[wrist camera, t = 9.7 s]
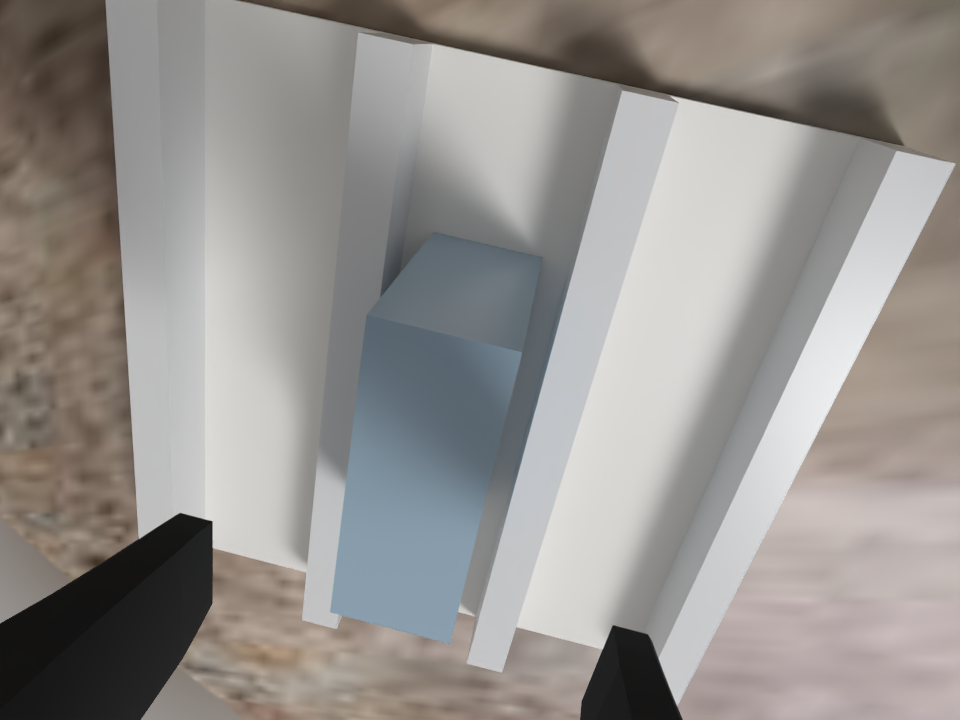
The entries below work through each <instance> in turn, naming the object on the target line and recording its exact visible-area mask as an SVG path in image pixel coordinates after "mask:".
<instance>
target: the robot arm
mask: <svg viewBox="0 0 960 720" xmlns="http://www.w3.org/2000/svg"><path fill="white" fill-rule="evenodd" d="M212 576H213V521H210V520H206V519H202V518H198V517H194V516H190V515H187V514H183V513H179V514H177V515H175V516H174V517H172V518H171V519H169V520H167V521H166V522H164V523H163V524H161V525H160V526H158V527H156V528H155V529H153V530H152V531H150V532H149V533H147V534H146V535H144V536H143V537H141V538H140V539H138V540H137V541H135V542H134V543H132V544H130V545H129V546H127V547H126V548H124V549H123V550H121V551H120V552H118V553H117V554H115V555H113V556H112V557H110V558H109V559H107V560H106V561H104V562H103V563H101V564H99V565H98V566H96V567H95V568H93V569H91V570H90V571H88V572H86V573H85V574H83V575H82V576H80V577H78V578H77V579H75V580H74V581H72V582H70V583H69V584H67V585H66V586H64V587H62V588H61V589H59V590H57V591H56V592H54V593H53V594H51V595H49V596H47V597H46V598H44V599H42V600H41V601H39V602H37V603H35V604H34V605H32V606H30V607H28V608H27V609H25V610H23V611H21V612H20V613H18V614H16V615H14V616H12V617H11V618H9V619H7V620H5V621H4V622H2V623H1V624H0V720H141V718H142V717H143V715H144V714H145V712H146V711H147V710H148V708H149V707H150V705H151V704H152V703H153V701H154V700H155V698H156V697H157V695H158V694H159V692H160V691H161V689H162V688H163V686H164V685H165V684H166V682H167V681H168V679H169V678H170V676H171V675H172V673H173V672H174V670H175V669H176V668H177V666H178V665H179V663H180V662H181V660H182V659H183V657H184V655H185V653H186V652H187V650H188V648H189V646H190V644H191V643H192V641H193V639H194V637H195V635H196V634H197V632H198V630H199V628H200V626H201V624H202V622H203V620H204V618H205V616H206V614H207V613H208V611H209V609H210V607H211V605H212ZM580 720H683V719H682V717H681V715H680V712H679V710H678V707H677V705H676V702H675V700H674V697H673V695H672V692H671V690H670V687H669V685H668V682H667V680H666V677H665V675H664V672H663V669H662V667H661V664H660V661H659V659H658V656H657V653H656V650H655V648H654V645H653V642H652V640H651V638H650V637H649V635H648V634H645V633H642V632H638V631H634V630H630V629H626V628H622V627H618V626H615V625H613V626H612V628H611V631H610V633H609V635H608V638H607V640H606V643H605V645H604V648H603V650H602V653H601V655H600V658H599V660H598V663H597V665H596V668H595V670H594V672H593V675H592V677H591V680H590V682H589V685H588V687H587V690H586V692H585V695H584V697H583V700H582V705H581V717H580Z"/></svg>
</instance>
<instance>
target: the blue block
mask: <svg viewBox="0 0 960 720" xmlns="http://www.w3.org/2000/svg"><path fill="white" fill-rule="evenodd" d="M542 258H543V257H539V256H535V255H531V254H526V253H522V252H518V251H514V250H509V249H505V248H501V247H496V246H492V245H488V244H484V243H479V242H475V241H471V240H466V239H462V238H458V237H454V236H449V235H445V234H441V233H436V232H433V233H432V234H431V236H430V237H429V238H428V239H427V241H426V242H425V243H424V244H423V246H422V247H421V248H420V249H419V250H418V252H417V253H416V254H415V255H414V257H413V258H412V259H411V260H410V262H409V263H408V264H407V265H406V267H405V268H404V269H403V270H402V272H401V273H400V274H399V275H398V276H397V278H396V279H395V280H394V281H393V283H392V284H391V285H390V286H389V288H388V289H387V290H386V291H385V293H384V294H383V295H382V296H381V298H380V299H379V300H378V301H377V303H376V304H375V305H374V306H373V307H372V309H371V310H370V311H369V312H368V314H367V315H366V323H365V331H364V339H363V347H362V355H361V363H360V372H359V380H358V388H357V396H356V404H355V413H354V421H353V429H352V437H351V445H350V453H349V462H348V470H347V478H346V486H345V494H344V502H343V511H342V519H341V527H340V535H339V543H338V551H337V560H336V568H335V576H334V584H333V592H332V600H331V609H330V612H331V613H334V614H338V615H342V616H346V617H350V618H353V619H357V620H361V621H365V622H369V623H372V624H376V625H380V626H384V627H388V628H392V629H395V630H399V631H403V632H407V633H411V634H414V635H418V636H422V637H426V638H430V639H433V640H437V641H441V642H445V643H449V644H450V641H451V637H452V633H453V629H454V625H455V621H456V617H457V613H458V609H459V605H460V601H461V597H462V593H463V589H464V585H465V581H466V577H467V573H468V569H469V565H470V561H471V557H472V553H473V549H474V545H475V541H476V537H477V533H478V529H479V525H480V521H481V517H482V513H483V509H484V505H485V501H486V497H487V493H488V489H489V485H490V481H491V477H492V472H493V468H494V464H495V460H496V456H497V452H498V448H499V444H500V440H501V436H502V432H503V428H504V424H505V420H506V416H507V412H508V408H509V404H510V400H511V396H512V392H513V388H514V384H515V380H516V376H517V372H518V368H519V364H520V360H521V356H522V352H523V347H524V342H525V338H526V333H527V328H528V324H529V319H530V314H531V309H532V305H533V300H534V295H535V291H536V286H537V281H538V276H539V272H540V267H541V262H542Z"/></svg>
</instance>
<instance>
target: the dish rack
mask: <svg viewBox="0 0 960 720" xmlns="http://www.w3.org/2000/svg"><path fill="white" fill-rule="evenodd" d="M105 1H106V17H107V33H108V49H109V65H110V81H111V97H112V114H113V130H114V146H115V162H116V178H117V194H118V210H119V226H120V242H121V258H122V275H123V291H124V307H125V323H126V339H127V355H128V371H129V387H130V403H131V419H132V436H133V452H134V468H135V484H136V500H137V516H138V532H139V539H140V538H141V537H143V536H144V535H146V534H147V533H149V532H150V531H152V530H153V529H155V528H156V527H158V526H160V525H161V524H163V523H164V522H166V521H167V520H169V519H171V518H172V517H174V516H175V515H177V514H179V513H183V514H187V515H190V516H194V517H198V518H202V519H206V520H210V521H213V548H215V549H218V550H222V551H226V552H230V553H234V554H238V555H242V556H245V557H249V558H253V559H257V560H261V561H265V562H268V563H272V564H276V565H280V566H284V567H288V568H292V569H295V570H299V571H303V572H307V574H306V584H305V595H304V605H303V616H302V620H304V621H308V622H312V623H315V624H319V625H323V626H327V627H331V628H334V629H337V627H338V624H339V622H340V620H341V617H342V615H338V614H334V613H331V612H330V609H331V600H332V592H333V584H334V576H335V568H336V560H337V551H338V543H339V535H340V527H341V519H342V511H343V502H344V494H345V486H346V478H347V470H348V462H349V453H350V445H351V437H352V429H353V421H354V413H355V404H356V396H357V388H358V380H359V372H360V363H361V355H362V347H363V339H364V331H365V323H366V315H367V314H368V312H369V311H370V310H371V309H372V307H373V306H374V305H375V304H376V303H377V301H378V300H379V299H380V298H381V296H382V295H383V294H384V293H385V291H386V290H387V289H388V288H389V286H390V285H391V284H392V283H393V281H394V280H395V279H396V278H397V276H398V275H399V274H400V273H401V272H402V270H403V269H404V268H405V267H406V265H407V264H408V263H409V262H410V260H411V259H412V258H413V257H414V255H415V254H416V253H417V252H418V250H419V249H420V248H421V247H422V246H423V244H424V243H425V242H426V241H427V239H428V238H429V237H430V236H431V234H432V233H433V232H436V233H441V234H445V235H449V236H454V237H458V238H462V239H466V240H471V241H475V242H479V243H484V244H488V245H492V246H496V247H501V248H505V249H509V250H514V251H518V252H522V253H526V254H531V255H535V256H539V257H543V258H542V262H541V267H540V272H539V276H538V281H537V286H536V291H535V295H534V300H533V305H532V309H531V314H530V319H529V324H528V328H527V333H526V338H525V342H524V347H523V352H522V356H521V360H520V364H519V368H518V372H517V376H516V380H515V384H514V388H513V392H512V396H511V400H510V404H509V408H508V412H507V416H506V420H505V424H504V428H503V432H502V436H501V440H500V444H499V448H498V452H497V456H496V460H495V464H494V468H493V472H492V477H491V481H490V485H489V489H488V493H487V497H486V501H485V505H484V509H483V513H482V517H481V521H480V525H479V529H478V533H477V537H476V541H475V545H474V549H473V553H472V557H471V561H470V565H469V569H468V573H467V577H466V581H465V585H464V589H463V593H462V597H461V601H460V605H459V609H458V612H461V613H464V614H468V615H472V616H476V619H475V624H474V629H473V634H472V639H471V644H470V649H469V654H468V659H467V664H471V665H475V666H478V667H482V668H486V669H490V670H494V671H497V672H501V673H502V671H503V668H504V664H505V661H506V658H507V655H508V651H509V648H510V645H511V642H512V639H513V635H514V632H515V629H516V627H518V628H522V629H526V630H530V631H534V632H537V633H541V634H545V635H549V636H553V637H557V638H560V639H564V640H568V641H572V642H576V643H580V644H584V645H587V646H591V647H595V648H599V649H603V648H604V645H605V643H606V640H607V638H608V635H609V633H610V631H611V628H612V626H613V625H615V626H618V627H622V628H626V629H630V630H634V631H638V632H642V633H645V634H648V635H649V637H650V638H651V640H652V642H653V645H654V648H655V650H656V653H657V656H658V659H659V661H660V664H661V667H662V669H663V672H664V675H665V677H666V680H667V682H668V685H669V687H670V690H671V692H672V695H673V697H674V700H675V702H676V705H677V706H678V704H679V702H680V700H681V698H682V696H683V694H684V692H685V690H686V688H687V686H688V684H689V682H690V680H691V678H692V676H693V674H694V672H695V671H696V669H697V667H698V665H699V663H700V661H701V659H702V657H703V655H704V653H705V651H706V649H707V647H708V645H709V643H710V641H711V639H712V637H713V635H714V634H715V632H716V630H717V628H718V626H719V624H720V622H721V620H722V618H723V616H724V614H725V612H726V610H727V608H728V606H729V604H730V602H731V600H732V598H733V597H734V595H735V593H736V591H737V589H738V587H739V585H740V583H741V581H742V579H743V577H744V575H745V573H746V571H747V569H748V567H749V565H750V563H751V561H752V560H753V558H754V556H755V554H756V552H757V550H758V548H759V546H760V544H761V542H762V540H763V538H764V536H765V534H766V532H767V530H768V528H769V526H770V525H771V523H772V521H773V519H774V517H775V515H776V513H777V511H778V509H779V507H780V505H781V503H782V501H783V499H784V497H785V495H786V493H787V491H788V489H789V488H790V486H791V484H792V482H793V480H794V478H795V476H796V474H797V472H798V470H799V468H800V466H801V464H802V462H803V460H804V458H805V456H806V454H807V452H808V451H809V449H810V447H811V445H812V443H813V441H814V439H815V437H816V435H817V433H818V431H819V429H820V427H821V425H822V423H823V421H824V419H825V417H826V416H827V414H828V412H829V410H830V408H831V406H832V404H833V402H834V400H835V398H836V396H837V394H838V392H839V390H840V388H841V386H842V384H843V382H844V380H845V379H846V377H847V375H848V373H849V371H850V369H851V367H852V365H853V363H854V361H855V359H856V357H857V355H858V353H859V351H860V349H861V347H862V345H863V343H864V342H865V340H866V338H867V336H868V334H869V332H870V330H871V328H872V326H873V324H874V322H875V320H876V318H877V316H878V314H879V312H880V310H881V308H882V306H883V305H884V303H885V301H886V299H887V297H888V295H889V293H890V291H891V289H892V287H893V285H894V283H895V281H896V279H897V277H898V275H899V273H900V271H901V270H902V268H903V266H904V264H905V262H906V260H907V258H908V256H909V254H910V252H911V250H912V248H913V246H914V244H915V242H916V240H917V238H918V236H919V234H920V233H921V231H922V229H923V227H924V225H925V223H926V221H927V219H928V217H929V215H930V213H931V211H932V209H933V207H934V205H935V203H936V201H937V199H938V197H939V196H940V194H941V192H942V190H943V188H944V186H945V184H946V182H947V180H948V178H949V176H950V174H951V172H952V170H953V168H954V166H955V163H952V162H949V161H946V160H943V159H940V158H937V157H934V156H931V155H928V154H925V153H923V152H920V151H917V150H914V149H912V148H909V147H906V146H901V145H896V144H892V143H887V142H883V141H878V140H874V139H869V138H865V137H860V136H855V135H851V134H846V133H842V132H837V131H833V130H828V129H824V128H819V127H814V126H810V125H805V124H801V123H796V122H792V121H787V120H783V119H778V118H773V117H769V116H764V115H760V114H755V113H751V112H746V111H742V110H737V109H732V108H728V107H723V106H719V105H714V104H710V103H705V102H701V101H696V100H691V99H687V98H682V97H678V96H673V95H669V94H664V93H660V92H655V91H650V90H646V89H641V88H637V87H632V86H628V85H623V84H619V83H614V82H609V81H605V80H600V79H596V78H591V77H587V76H582V75H577V74H573V73H568V72H564V71H559V70H555V69H550V68H546V67H541V66H536V65H532V64H527V63H523V62H518V61H514V60H509V59H505V58H500V57H495V56H491V55H486V54H482V53H477V52H473V51H468V50H464V49H459V48H454V47H450V46H445V45H441V44H436V43H432V42H427V41H423V40H418V39H413V38H409V37H404V36H400V35H395V34H391V33H386V32H382V31H377V30H372V29H368V28H363V27H359V26H354V25H350V24H345V23H341V22H336V21H331V20H327V19H322V18H318V17H313V16H309V15H304V14H300V13H295V12H290V11H286V10H281V9H277V8H272V7H268V6H263V5H259V4H254V3H249V2H245V1H240V0H105Z"/></svg>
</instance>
